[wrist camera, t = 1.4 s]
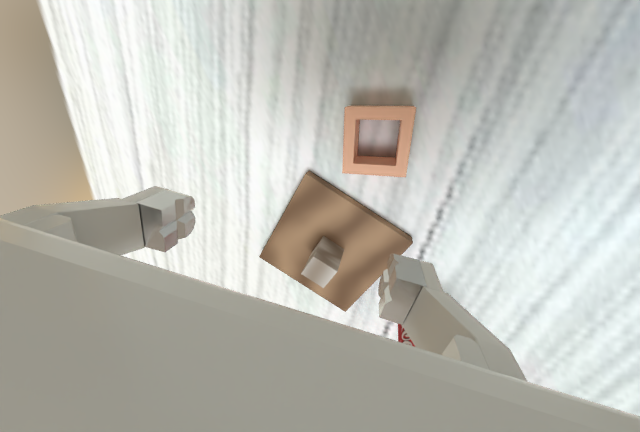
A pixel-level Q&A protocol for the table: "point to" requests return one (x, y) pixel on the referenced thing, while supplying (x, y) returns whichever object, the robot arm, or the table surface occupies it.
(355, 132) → the frame
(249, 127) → the table surface
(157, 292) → the robot arm
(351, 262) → the post base
